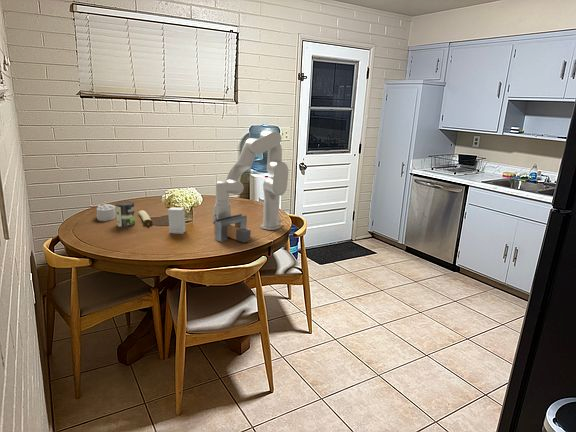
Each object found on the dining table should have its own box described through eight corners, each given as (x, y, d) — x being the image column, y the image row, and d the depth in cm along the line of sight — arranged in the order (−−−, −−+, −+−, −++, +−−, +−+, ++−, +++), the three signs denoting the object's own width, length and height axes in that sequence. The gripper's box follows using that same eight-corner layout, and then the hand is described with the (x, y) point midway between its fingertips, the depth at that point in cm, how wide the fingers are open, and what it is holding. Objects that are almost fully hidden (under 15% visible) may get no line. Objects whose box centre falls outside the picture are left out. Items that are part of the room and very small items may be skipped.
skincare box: (185, 231, 234) (185, 207, 230) (183, 234, 228) (182, 209, 224) (171, 230, 234) (171, 206, 230) (168, 234, 228) (167, 209, 224)
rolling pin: (153, 228, 236) (153, 220, 235) (143, 229, 234) (143, 221, 233) (146, 215, 264) (146, 208, 263) (137, 215, 262) (137, 208, 260)
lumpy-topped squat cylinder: (117, 215, 258) (116, 203, 256) (112, 221, 246) (111, 208, 244) (100, 215, 256) (99, 203, 254) (94, 221, 244) (93, 207, 242)
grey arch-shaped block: (240, 233, 236) (240, 213, 233) (246, 235, 233) (246, 215, 230) (215, 239, 222) (215, 219, 219) (221, 242, 219) (221, 221, 216)
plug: (220, 230, 237) (220, 220, 236) (250, 240, 221) (250, 230, 219) (213, 231, 233) (213, 222, 232) (243, 242, 217) (243, 232, 216)
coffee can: (138, 224, 243) (137, 202, 239) (129, 229, 233) (127, 205, 229) (123, 222, 245) (122, 200, 241) (113, 227, 235) (111, 204, 231)
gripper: (229, 199, 236) (229, 228, 241) (206, 203, 223) (206, 233, 228) (237, 201, 231) (237, 231, 236) (215, 205, 219) (215, 237, 224)
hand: (222, 232), depth 232 cm, fingers closed on plug, 4 cm apart
